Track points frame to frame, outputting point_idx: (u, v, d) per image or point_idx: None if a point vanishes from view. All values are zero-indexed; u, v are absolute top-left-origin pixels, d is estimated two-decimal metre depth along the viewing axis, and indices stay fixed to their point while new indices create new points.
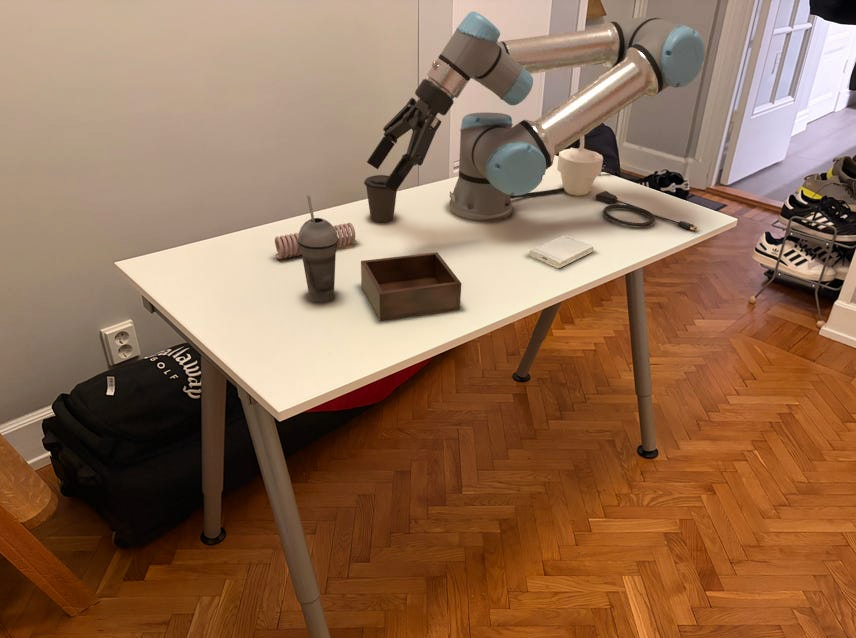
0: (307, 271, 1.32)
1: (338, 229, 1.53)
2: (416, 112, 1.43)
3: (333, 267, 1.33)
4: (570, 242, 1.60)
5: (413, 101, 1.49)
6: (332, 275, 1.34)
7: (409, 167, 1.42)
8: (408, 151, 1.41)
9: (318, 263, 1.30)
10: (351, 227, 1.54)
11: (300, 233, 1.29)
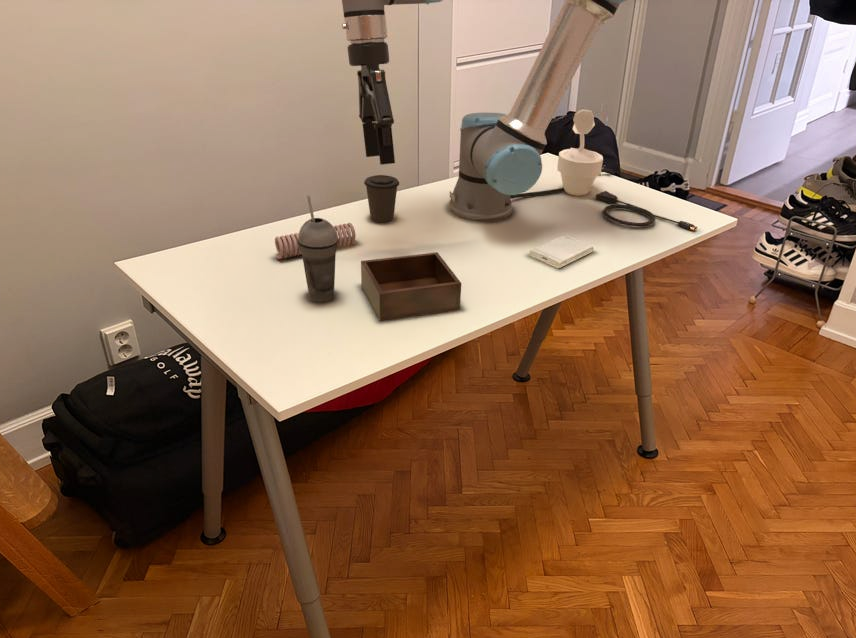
0: (307, 271, 1.32)
1: (338, 229, 1.53)
2: (362, 80, 1.34)
3: (333, 267, 1.33)
4: (570, 242, 1.60)
5: (360, 73, 1.40)
6: (332, 275, 1.34)
7: (387, 132, 1.32)
8: (376, 119, 1.32)
9: (318, 263, 1.30)
10: (351, 227, 1.54)
11: (300, 233, 1.29)
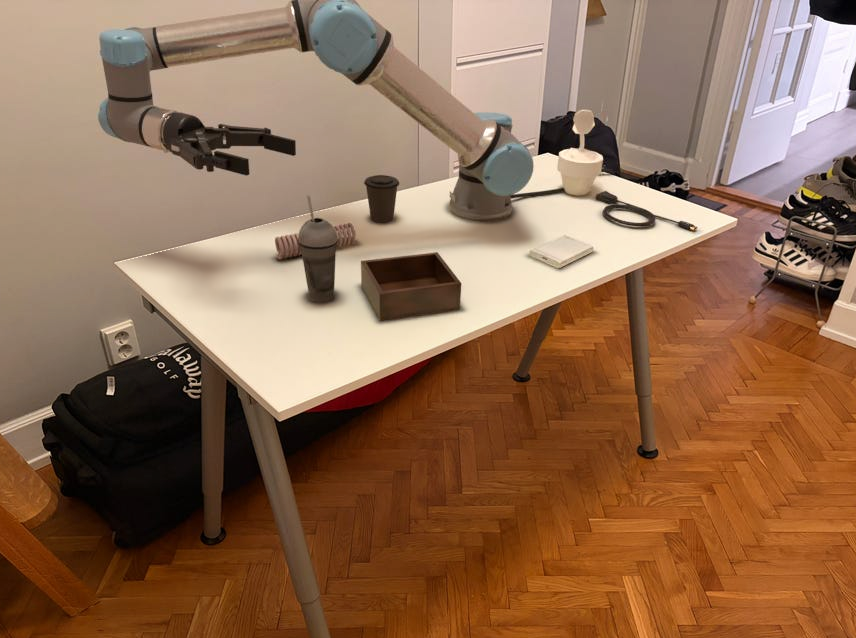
0: (307, 271, 1.32)
1: (338, 229, 1.53)
2: None
3: (333, 267, 1.33)
4: (570, 242, 1.60)
5: None
6: (332, 275, 1.34)
7: (213, 160, 1.22)
8: None
9: (318, 263, 1.30)
10: (351, 227, 1.54)
11: (300, 233, 1.29)
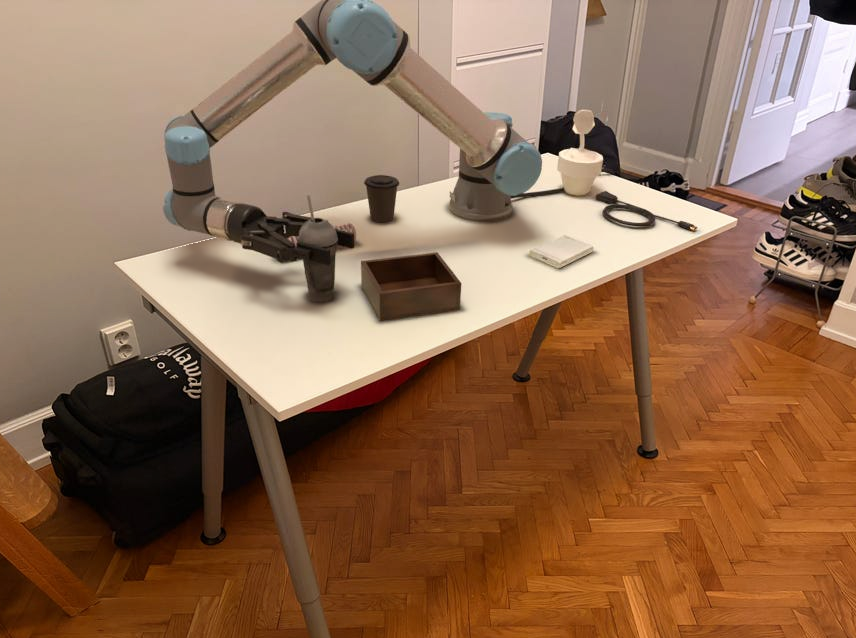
0: (307, 271, 1.32)
1: None
2: None
3: (333, 267, 1.33)
4: (570, 242, 1.60)
5: None
6: (332, 275, 1.34)
7: (296, 252, 1.27)
8: None
9: (318, 263, 1.30)
10: (352, 228, 1.54)
11: (300, 233, 1.29)
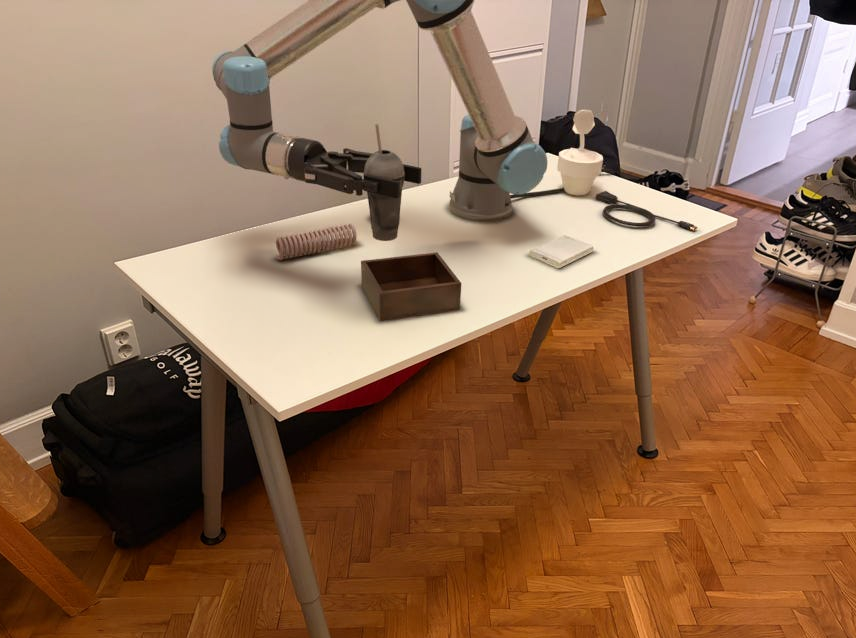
0: (372, 207, 1.26)
1: (339, 230, 1.52)
2: None
3: (399, 203, 1.27)
4: (570, 242, 1.60)
5: None
6: (398, 212, 1.27)
7: (364, 184, 1.21)
8: None
9: (384, 197, 1.24)
10: (352, 228, 1.54)
11: (367, 165, 1.22)
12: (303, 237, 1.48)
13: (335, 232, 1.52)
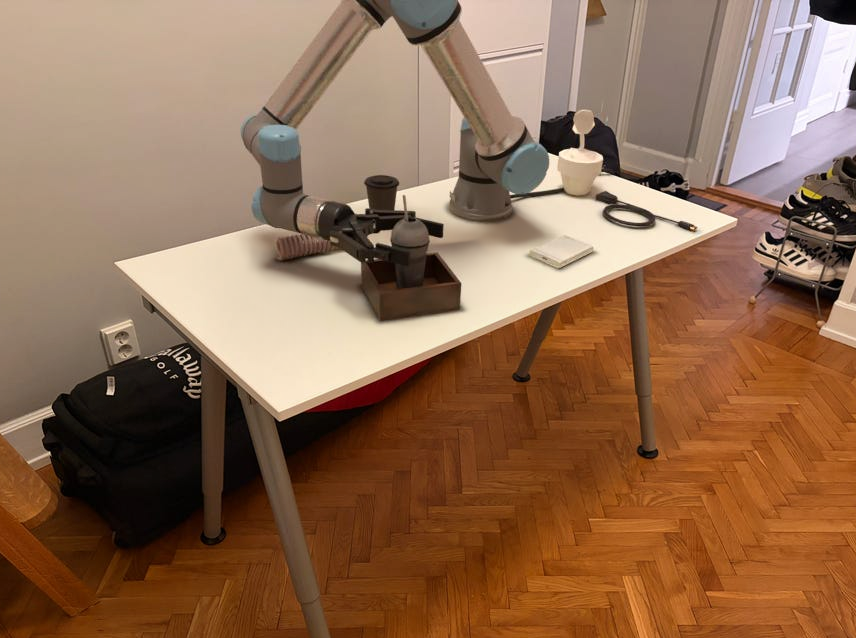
0: (398, 270, 1.33)
1: None
2: None
3: (423, 266, 1.34)
4: (570, 242, 1.60)
5: None
6: (422, 274, 1.34)
7: (375, 253, 1.26)
8: None
9: (410, 262, 1.31)
10: None
11: (394, 232, 1.30)
12: (303, 237, 1.48)
13: None
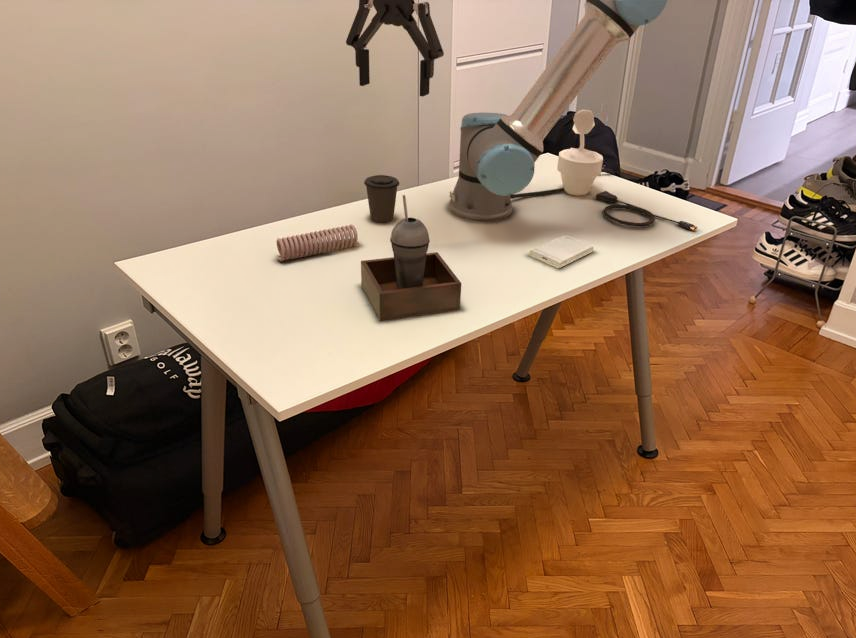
0: (398, 270, 1.33)
1: (340, 231, 1.52)
2: (395, 10, 1.34)
3: (423, 266, 1.34)
4: (570, 242, 1.60)
5: None
6: (422, 274, 1.34)
7: (432, 64, 1.38)
8: (423, 52, 1.36)
9: (410, 262, 1.31)
10: (353, 229, 1.53)
11: (394, 232, 1.29)
12: (304, 238, 1.48)
13: (336, 233, 1.51)
